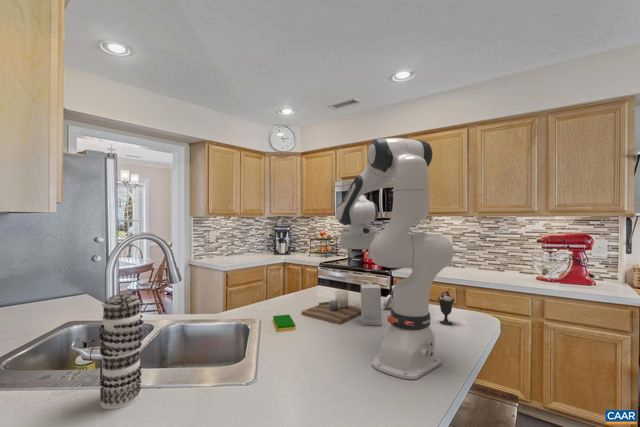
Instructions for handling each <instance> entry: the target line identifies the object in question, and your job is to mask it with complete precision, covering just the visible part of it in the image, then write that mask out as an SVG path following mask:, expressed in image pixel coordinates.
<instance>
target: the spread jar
mask: <svg viewBox="0 0 640 427" xmlns="http://www.w3.org/2000/svg"><path fill="white" fill-rule="evenodd" d="M394 286H395V284H394V285H392V286H391V292H390V294H388V295H387V296H386V297H385V298H384V301H383V303H382V307H383V309H385V310H387V309H389V308H390V311H391V312H392V309H393V288H394Z"/></svg>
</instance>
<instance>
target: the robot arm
mask: <svg viewBox="0 0 640 427" xmlns="http://www.w3.org/2000/svg"><path fill="white" fill-rule="evenodd" d="M432 160H433V149H432V147H431V144H430V143H429V142H427V141H425V140H421V139H411V138H402V137H387V138H384V137H379V138H375V139H373V140H372V141H371V142H370V144H369V146H368V149H367V162H368V163H367V165H366V167H365V169H364V170H363V171H362V172H361V173H359V175H357V176H355V177H354V179H353V180H352V183H351V184H350V186H349V187H348V190H347V192H346V193H345V195H344V198H343V199H342V201H341V202H340V203H339V204H338V206H337V207H336V211H335V212H336V213H335V216H336V220H337V221H338V222H339V223H340V224H341V225H343V226H349V228H347V229H346V228H343V229H342V230H341V231H340V243H339V244H340V248H341V249H346V251H347V253H348V254H349V258H355V254H354V253H353V251H352V250H353V249H356V250H357V249H359V250H367V251H368V254H366V260H372V261H373V263H374V264H375V265H377V266H378V267H379V266H380V267H384V268H389V269H411V270H412V271H411V273H410V274H409V275H407V277H405V278H403V279H401V280H398V281H397V282H396V283H395V284H394V285H395V286H394V285H393V286H394V288H393V309H392V311H391V312H390V315H388V316H387V319H386V322H387V323H389V326H388V328H387V330H386V332H385V334H384V336H383V338H382V341H381V343H380V347H379V351H378V353H377V354H376V356H375V357H374V359H372V362H371V367H373V369H376V371H379V372H382V373H384V374H387V375H389V376H390V375H391V376H393V377H396V378H401V379H404V380H405V379H406V380H417V379H419V378H422V377H423V376H424V375H425V374H427V373H429V372H430V371H432V370H434V369H435V368H436V367H438V366H440V365H441V364H442V360H441V359H440V358H439V357H437V348H436V345H437V344H436V335H435V333H434V332H433V330H432V329H431V327H430V326H431V317H432V316H431V312H430V308H429V307H430V305H429V304H430V293H431V287H432V284H433V282H434V280H435V278H436V277H437V275H438V274H440V272H441V271H442V270H444V269H445V268H447V267H448V266H449V265H450V264H451V262H452V261H453V258H454V247H453V244H452V243H451V240H450V239H449V238H448V237H446V236H443V235H438V234H432V233H424V234H423V233H410V229H411V228H412V227H413V226H414V225H416V224H419V223H420V222H422V221H423V220H426V219H427V217H428V215H429V213H430V175H429V166H430V165H431V162H432ZM392 181H393V187H392V188H393V191H392V192H393V195H392V196H393V197H392V198H393V199H392V211H391V216H390V218H389V221H388V224H387V225H386V226H385V228H384V229H382V231H381V232H380V233H378V232H379V229H378V227H376V226H373V225H370V224H369V223H373V222H375V221H376V220H377V219H378V216H379V209H378V206H377V204H376V203H375V202H373V201H370V200H368V199H367V197H366V195H365V194H367V193H371V192H374V191H378V190H382V189H384V188H386V187H387V186H388V185H390V183H391V182H392Z"/></svg>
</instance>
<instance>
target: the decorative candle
mask: <svg viewBox="0 0 640 427" xmlns="http://www.w3.org/2000/svg"><path fill="white" fill-rule="evenodd" d="M141 301H142V300H141V299H140V298H138V297H137V296H136V295H135V294H131V293H123V294H122V293H121V294H115V295H112V296H110V297H109V298H107V299H106V301H105V302H103V303H102V304H101V307H103V308H102V309H103V311H102V312H103V316H102V324H101V325H100V327H99V328H98V329H99V330H98V331H99V334H98V336H99V338H98V339H99V340H101V341H100V343H99V346H100V349H99V353H100V354H99V355H100V356H101V357H102V360H103V361H102V365H101V366H102V368H101V370H102V373H100V376H99V377H100V381H99V382H100V383H99V384H100V386H101V387H100V389H99V391H100V392H99V393H100V395H99V398H100V399H99V400H100V407H101V408H103V409H105V410H106V409H107V410H116V409H121V408H125V407H127V406H130V405H131V404H134V403H135V402H137V401H138V400H139V399H140V397H141V396H142V392H141V390H142V386H141V383H142V382H143V381H142V378H141V377H142V373H141V372H142V371H141V370H142V369H143V368H142V365H141V359H140V350H141V349H142V345H143V344H142V342H141V341H140V340H141V339H142V338H143V334H141V333H142V332H143V331H144V330H143V328H142V327H140V326H141V325H142V324H144V320H143V319H142V318H143V317H144V316H143V315H142V314H141V312H140V305H141V304H140V303H141Z"/></svg>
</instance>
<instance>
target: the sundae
mask: <svg viewBox="0 0 640 427" xmlns="http://www.w3.org/2000/svg"><path fill="white" fill-rule="evenodd" d="M450 290H451V288H450V287H448V290H446V291H444V292H441V294H440V296H438V297H437V300H438V302H439V309H440V312H441V313H442V315H444V317H443V318H444V320H440V321H439V323H440V324H441V325H443V326H452V325H453V322H451V321H449V319H448V315H450V314H451V313H452V311H453V310H452V308H453V303H454V302H455V301H456V299H454V298H452V296H451V294H450Z"/></svg>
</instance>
